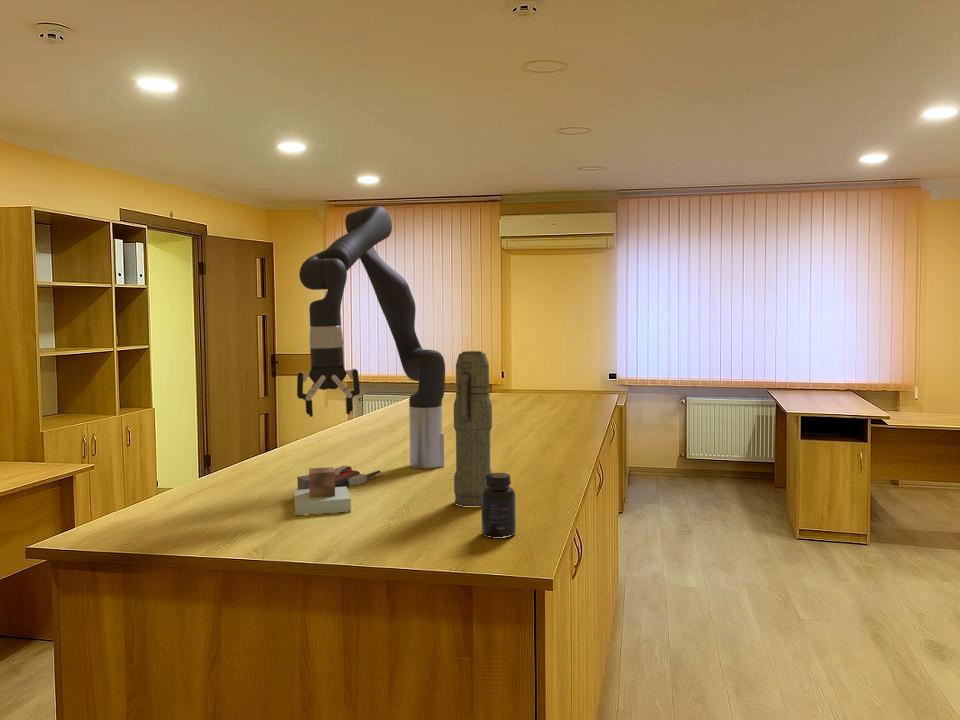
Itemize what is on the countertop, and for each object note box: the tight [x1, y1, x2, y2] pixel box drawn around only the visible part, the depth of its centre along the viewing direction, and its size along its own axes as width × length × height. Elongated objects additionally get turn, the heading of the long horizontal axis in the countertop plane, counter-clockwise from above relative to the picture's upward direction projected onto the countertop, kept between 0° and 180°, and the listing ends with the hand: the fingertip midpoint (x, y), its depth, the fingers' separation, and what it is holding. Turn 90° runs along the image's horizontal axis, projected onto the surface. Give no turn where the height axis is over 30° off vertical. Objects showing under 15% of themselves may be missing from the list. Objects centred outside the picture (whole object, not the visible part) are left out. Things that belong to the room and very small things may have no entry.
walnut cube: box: [308, 466, 335, 498], centre depth 174 cm, size 6×6×6 cm
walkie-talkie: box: [334, 465, 382, 487], centre depth 199 cm, size 9×4×20 cm
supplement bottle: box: [480, 472, 517, 537], centre depth 152 cm, size 7×7×12 cm
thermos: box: [453, 350, 493, 506], centre depth 176 cm, size 9×12×35 cm
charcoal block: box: [296, 474, 309, 490], centre depth 184 cm, size 5×5×5 cm
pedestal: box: [294, 486, 352, 516], centre depth 175 cm, size 12×12×3 cm
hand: (329, 415), depth 179 cm, fingers open, 8 cm apart
